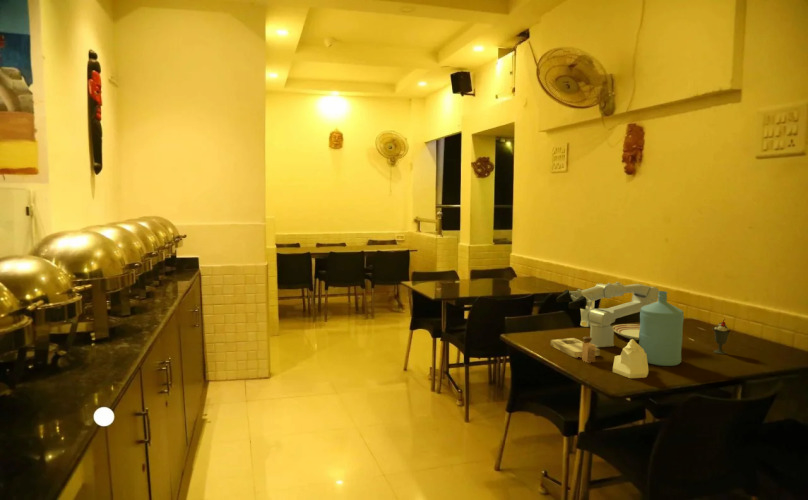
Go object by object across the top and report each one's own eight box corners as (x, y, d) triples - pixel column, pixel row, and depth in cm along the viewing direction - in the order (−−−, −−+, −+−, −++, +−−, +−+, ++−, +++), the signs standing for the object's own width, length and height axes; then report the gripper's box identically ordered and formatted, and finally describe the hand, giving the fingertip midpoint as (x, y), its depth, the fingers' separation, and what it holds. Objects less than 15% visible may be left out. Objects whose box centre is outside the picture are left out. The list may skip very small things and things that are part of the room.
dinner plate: (633, 326, 261) (634, 320, 260) (688, 339, 238) (688, 332, 237) (599, 335, 246) (599, 328, 245) (654, 349, 223) (654, 342, 223)
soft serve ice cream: (660, 381, 189) (664, 348, 184) (619, 385, 189) (621, 351, 184) (645, 362, 201) (648, 330, 196) (606, 365, 201) (608, 333, 196)
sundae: (723, 356, 213) (725, 320, 212) (707, 351, 219) (709, 317, 218) (732, 353, 216) (735, 318, 215) (717, 349, 222) (719, 315, 221)
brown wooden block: (589, 359, 209) (590, 342, 209) (594, 362, 206) (595, 345, 205) (581, 360, 208) (582, 343, 208) (587, 363, 205) (587, 345, 204)
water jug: (679, 369, 197) (683, 297, 194) (635, 362, 206) (638, 293, 203) (682, 358, 211) (686, 290, 207) (640, 352, 219) (643, 286, 216)
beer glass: (594, 327, 258) (595, 298, 256) (580, 327, 259) (581, 297, 258) (592, 324, 265) (593, 295, 263) (578, 323, 266) (579, 294, 264)
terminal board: (574, 343, 232) (574, 329, 231) (599, 355, 214) (600, 340, 214) (550, 345, 228) (550, 331, 228) (574, 358, 211) (575, 342, 210)
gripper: (576, 282, 229) (551, 289, 225) (600, 291, 217) (574, 299, 212) (576, 297, 231) (551, 304, 227) (600, 307, 219) (574, 315, 214)
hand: (562, 303), depth 219 cm, fingers open, 7 cm apart
